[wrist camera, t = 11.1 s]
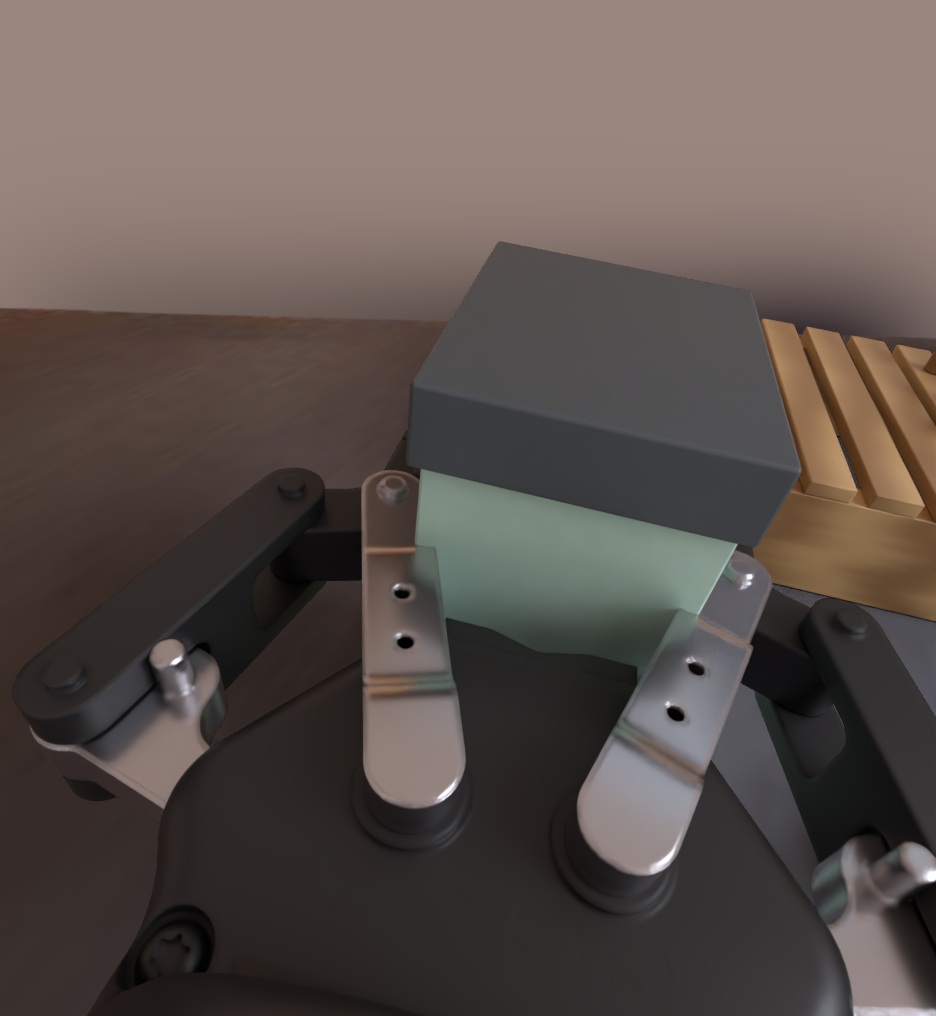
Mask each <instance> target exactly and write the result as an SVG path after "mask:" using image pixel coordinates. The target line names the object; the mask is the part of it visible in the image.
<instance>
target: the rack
mask: <svg viewBox="0 0 936 1016" xmlns="http://www.w3.org/2000/svg"><path fill="white" fill-rule="evenodd" d="M760 324H761V327H762V331H763V334H764V338H765V341H766V345H767V348H768V352H769V355H770V359H771V362H772V366H773V369H774V373H775V376H776V380H777V383H778V387H779V390H780V394H781V398H782V401H783V405H784V408H785V412H786V415H787V419H788V422H789V426H790V429H791V433H792V436H793V440H794V443H795V447H796V450H797V454H798V457H799V461H800V464H801V468H802V470H801V474H800V476H799V477H798V479H797V481H796V483H795V484H794V486H793V488H792V489H791V491H790V493H789V494H788V496H787V498H786V500H785V501H784V503H783V505H782V506H781V508H780V510H779V512H778V513H777V515H776V517H775V518H774V520H773V522H772V524H771V525H770V527H769V529H768V530H767V532H766V534H765V535H764V537H763V539H762V541H761V542H760V544H759V546H757V547H754V548H753V553H754V559H756V560H757V561H759V562H760V563H761V564H762V565H763V566H764V567H765V568H766V569H767V571H768V572H769V574H770V576H771V578H772V583H775V584H779V585H784V586H788V587H792V588H796V589H801V590H805V591H809V592H813V593H817V594H822V595H826V596H830V597H834V598H839V599H843V600H847V601H851V602H855V603H860V604H864V605H868V606H872V607H877V608H881V609H885V610H889V611H893V612H898V613H902V614H906V615H910V616H915V617H919V618H923V619H927V620H931V621H936V349H935V351H934V352H933V354H931V352H930V351H927V350H922V349H917V348H912V347H907V346H902V345H897V346H896V347H895V349H894V351H893V352H892V354H891V353H890V351H889V350H888V348H887V346H886V345H885V343H884V342H882V341H877V340H872V339H867V338H861V337H856V336H851V337H850V339H849V341H848V343H847V345H846V347H845V345H844V343H843V341H842V339H841V337H840V335H839V333H836V332H831V331H826V330H821V329H815V328H811V327H806V329H805V331H804V333H803V335H802V338H799V337H798V334H797V332H796V329H795V327H794V325H793V324H789V323H784V322H779V321H774V320H769V319H762V320H761V322H760ZM836 435H837V436H840V437H841V439H842V442H843V444H844V447H845V450H846V452H847V455H848V457H849V460H850V462H851V465H852V467H853V470H854V473H855V475H856V478H857V480H858V483H859V485H860V488H861V489H860V488H856V486H855V483H854V481H853V478H852V475H851V473H850V470H849V467H848V465H847V462H846V460H845V457H844V454H843V452H842V449H841V447H840V444H839V441H838V439H837V436H836ZM894 443H895V445H896V447H897V449H898V451H899V453H900V455H901V457H902V459H903V461H904V462H905V464H906V466H907V468H908V470H909V472H910V474H911V476H912V478H913V480H914V482H915V484H916V486H917V488H918V490H919V492H920V494H921V496H922V498H923V500H924V502H925V503H924V502H923V501H922V499H921V497H920V495H919V493H918V491H917V489H916V487H915V485H914V483H913V481H912V479H911V477H910V475H909V473H908V471H907V469H906V467H905V465H904V463H903V461H902V459H901V457H900V455H899V453H898V451H897V449H896V447H895V445H894Z"/></svg>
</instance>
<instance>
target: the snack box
mask: <svg viewBox="0 0 936 1016" xmlns="http://www.w3.org/2000/svg"><path fill="white" fill-rule="evenodd" d="M406 463H407V465H409V466H411V467H415V468H419V469H421V471H420V483H419V495H418V508H417V520H416V532H415V544H417V545H420V546H425V547H435V548H436V551H437V558H438V566H439V574H440V582H441V590H442V598H443V606H444V614H445V619H446V617H447V618H451V619H454V620H458V621H462V622H466V623H470V624H474V625H478V626H482V627H485V628H489V629H493V630H495V631H497V632H499V633H501V634H503V635H505V636H507V637H509V638H511V639H513V640H515V641H517V642H519V643H521V644H523V645H525V646H527V647H529V648H531V649H533V650H535V651H538V652H544V653H568V654H590V655H593V656H597V657H601V658H605V659H609V660H613V661H617V662H621V663H624V664H628V665H632V666H636V667H637V683H639V681H640V679H641V677H642V675H643V673H644V672H645V670H646V668H647V666H648V664H649V662H650V661H651V659H652V657H653V655H654V653H655V651H656V649H657V648H658V646H659V644H660V642H661V640H662V638H663V637H664V635H665V633H666V631H667V629H668V627H669V625H670V624H671V622H672V620H673V618H674V616H675V614H676V613H677V611H678V609H679V607H680V608H682V609H684V610H686V611H688V612H689V613H693V614H699V613H700V611H701V610H702V608H703V606H704V604H705V602H706V601H707V599H708V597H709V595H710V593H711V592H712V590H713V588H714V586H715V584H716V583H717V581H718V579H719V577H720V575H721V574H722V572H723V570H724V568H725V566H726V565H727V563H728V561H729V559H730V557H731V556H732V554H733V552H734V550H735V548H736V546H737V545H738V544H740V545H744V546H748V547H752V548H754V547H757V546H759V544H760V542H761V541H762V539H763V537H764V535H765V534H766V532H767V530H768V529H769V527H770V525H771V524H772V522H773V520H774V518H775V517H776V515H777V513H778V512H779V510H780V508H781V506H782V505H783V503H784V501H785V500H786V498H787V496H788V494H789V493H790V491H791V489H792V488H793V486H794V484H795V483H796V481H797V479H798V477H799V476H800V474H801V470H802V468H801V464H800V461H799V457H798V454H797V450H796V447H795V443H794V440H793V436H792V433H791V429H790V426H789V422H788V419H787V415H786V412H785V408H784V405H783V401H782V398H781V394H780V390H779V387H778V383H777V380H776V376H775V373H774V369H773V366H772V362H771V359H770V355H769V352H768V348H767V345H766V341H765V338H764V334H763V331H762V327H761V324H760V321H759V317H758V313H757V310H756V306H755V303H754V299H753V296H752V293H751V292H750V291H748V290H743V289H738V288H733V287H728V286H723V285H717V284H713V283H708V282H703V281H698V280H692V279H687V278H682V277H678V276H672V275H667V274H662V273H657V272H652V271H647V270H642V269H637V268H632V267H627V266H622V265H617V264H612V263H607V262H602V261H597V260H592V259H586V258H582V257H577V256H572V255H567V254H561V253H556V252H551V251H546V250H541V249H536V248H531V247H526V246H521V245H516V244H511V243H506V242H498V243H497V245H496V246H495V248H494V249H493V251H492V253H491V254H490V256H489V257H488V259H487V261H486V263H485V264H484V266H483V267H482V269H481V271H480V272H479V274H478V275H477V277H476V279H475V280H474V282H473V284H472V285H471V287H470V288H469V290H468V292H467V293H466V295H465V297H464V298H463V300H462V301H461V303H460V305H459V307H458V308H457V309H456V311H455V313H454V314H453V316H452V318H451V319H450V321H449V323H448V324H447V326H446V327H445V329H444V331H443V332H442V334H441V336H440V337H439V339H438V340H437V342H436V344H435V345H434V347H433V349H432V350H431V352H430V353H429V355H428V357H427V358H426V360H425V362H424V363H423V365H422V366H421V368H420V370H419V371H418V373H417V375H416V376H415V378H414V380H413V381H412V383H411V385H410V401H409V418H408V434H407V450H406Z"/></svg>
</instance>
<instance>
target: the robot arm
mask: <svg viewBox="0 0 936 1016" xmlns="http://www.w3.org/2000/svg"><path fill="white" fill-rule="evenodd" d="M407 434H408V430H406V432H405V434H404V436H403V438H402V440H401V441H400V443H399V444H398V446H397V448H396V450H395V452H394V453H393V455H392V457H391V459H390V461H389V462H388V464H387V466H386V468H385V470H384V471H381V472H377V473H375V474H372V475H371V476H369V477H368V478H367V479H366V480H365V481H364V482H363V485H362V487H359V488H354V489H325V486H324V482H323V480H322V479H321V478H320V476H318V475H317V474H316V473H314V472H312V471H309V470H306V469H302V468H285V469H280V470H277V471H274V472H272V473H270V474H269V475H267V476H266V477H264V478H263V479H262V480H260V481H259V482H258V483H257V484H255V485H254V486H253V487H251V488H250V489H249V490H248V491H246V492H245V493H244V494H242V495H241V496H240V497H239V498H237V499H236V500H235V501H233V502H232V503H231V504H230V505H228V506H227V507H226V508H225V509H223V510H222V511H221V512H219V513H218V514H217V515H216V516H214V517H213V518H212V519H210V520H209V521H208V522H207V523H205V524H204V525H203V526H201V527H200V528H199V529H198V530H196V531H195V532H194V533H192V534H191V535H190V536H189V537H187V538H186V539H185V540H183V541H182V542H181V543H180V544H178V545H177V546H176V547H175V548H173V549H172V550H171V551H169V552H168V553H167V554H166V555H164V556H163V557H162V558H160V559H159V560H158V561H157V562H155V563H154V564H153V565H151V566H150V567H149V568H148V569H146V570H145V571H144V572H142V573H141V574H140V575H139V576H137V577H136V578H135V579H133V580H132V581H131V582H130V583H128V584H127V585H126V586H124V587H123V588H122V589H121V590H119V591H118V592H117V593H116V594H114V595H113V596H112V597H110V598H109V599H108V600H107V601H105V602H104V603H103V604H101V605H100V606H99V607H98V608H96V609H95V610H94V611H92V612H91V613H90V614H89V615H87V616H86V617H85V618H83V619H82V620H81V621H80V622H78V623H77V624H76V625H74V626H73V627H72V628H71V629H69V630H68V631H67V632H65V633H64V634H63V635H62V636H60V637H59V638H58V639H57V640H55V641H54V642H53V643H51V644H50V645H49V646H48V647H46V648H45V649H44V650H42V651H41V652H40V653H39V654H37V655H36V656H35V657H33V658H32V659H31V660H30V661H29V662H28V663H27V664H26V665H25V666H24V667H23V668H22V669H21V671H20V672H19V674H18V675H17V678H16V680H15V682H14V686H13V698H14V701H15V703H16V705H17V707H18V708H19V710H20V711H21V713H22V714H23V716H24V717H25V719H26V720H27V722H28V723H29V725H30V729H31V733H32V734H33V736H34V738H35V740H36V741H37V743H38V744H39V746H40V747H41V749H42V750H43V752H44V753H45V755H46V756H47V758H48V759H49V761H50V762H51V764H52V765H53V767H54V768H55V770H56V771H57V772H58V773H59V774H61V775H62V776H63V777H64V778H65V780H66V782H67V783H68V785H69V786H70V788H71V789H72V791H73V792H74V793H75V794H76V795H78V796H79V797H81V798H83V799H86V800H90V801H103V800H109V799H112V798H115V797H118V798H119V799H121V800H122V801H124V802H125V803H127V804H128V805H130V806H131V807H133V808H134V809H136V810H137V811H139V812H140V813H142V814H143V815H145V816H146V817H148V818H149V819H151V820H152V821H154V822H155V823H157V824H158V825H160V827H159V835H158V857H157V870H156V876H155V882H154V887H153V891H152V895H151V899H150V902H149V905H148V908H147V912H146V915H145V917H144V920H143V923H142V925H141V927H140V930H139V932H138V934H137V936H136V938H135V940H134V942H133V943H132V945H131V947H130V948H129V950H128V952H127V953H126V955H125V957H124V958H123V960H122V961H121V963H120V964H119V966H118V967H117V969H116V970H115V972H114V973H113V975H112V977H111V978H110V980H109V981H108V983H107V984H106V986H105V987H104V989H103V990H102V992H101V994H100V995H99V997H98V998H97V1000H96V1002H95V1003H94V1005H93V1007H92V1008H91V1010H90V1012H89V1013H88V1015H87V1016H936V717H935V715H934V714H933V712H932V710H931V709H930V707H929V705H928V704H927V702H926V700H925V699H924V697H923V695H922V694H921V692H920V691H919V689H918V687H917V686H916V684H915V682H914V681H913V679H912V677H911V676H910V674H909V672H908V671H907V669H906V668H905V666H904V664H903V663H902V661H901V659H900V658H899V656H898V654H897V653H896V651H895V649H894V648H893V646H892V645H891V643H890V641H889V640H888V638H887V636H886V635H885V633H884V631H883V630H882V628H881V627H880V625H879V624H878V622H877V621H876V620H875V619H874V618H873V617H872V616H871V615H870V614H869V613H867V612H866V611H864V610H863V609H862V608H860V607H858V606H856V605H854V604H852V603H850V602H847V601H845V600H841V599H836V598H824V599H821V600H818V601H817V602H815V604H814V605H813V606H812V608H810V607H808V606H805V605H803V604H801V603H799V602H797V601H795V600H793V599H791V598H789V597H787V596H785V595H783V594H781V593H780V592H778V591H777V590H775V589H774V588H773V587H772V578H771V576H770V574H769V572H768V571H767V569H766V568H765V567H764V566H763V565H762V564H761V563H760V562H759V561H757V560H756V559H754V553H753V548H752V547H748V546H744V545H740V544H738V545H737V546H736V548H735V550H734V552H733V554H732V556H731V557H730V559H729V561H728V563H727V565H726V566H725V568H724V570H723V572H722V574H721V575H720V577H719V579H718V581H717V583H716V584H715V586H714V588H713V590H712V592H711V593H710V595H709V597H708V599H707V601H706V602H705V604H704V606H703V608H702V610H701V611H700V613H699V614H693V613H689V612H688V611H686V610H684V609H682V608H680V607H679V609H678V611H677V613H676V614H675V616H674V618H673V620H672V622H671V624H670V625H669V627H668V629H667V631H666V633H665V635H664V637H663V638H662V640H661V642H660V644H659V646H658V648H657V649H656V651H655V653H654V655H653V657H652V659H651V661H650V662H649V664H648V666H647V668H646V670H645V672H644V673H643V675H642V677H641V679H640V681H639V683H637V667H636V666H632V665H628V664H624V663H621V662H617V661H613V660H609V659H605V658H601V657H597V656H593V655H590V654H568V653H544V652H538V651H535V650H533V649H531V648H529V647H527V646H525V645H523V644H521V643H519V642H517V641H515V640H513V639H511V638H509V637H507V636H505V635H503V634H501V633H499V632H497V631H495V630H493V629H489V628H485V627H482V626H478V625H474V624H470V623H466V622H462V621H458V620H454V619H451V618H447V617H446V619H445V614H444V606H443V598H442V590H441V582H440V574H439V566H438V558H437V551H436V548H435V547H425V546H420V545H417V544H415V532H416V520H417V508H418V495H419V483H420V471H421V469H419V468H415V467H411V466H409V465H407V463H406V450H407ZM356 580H361V659H359V660H357V661H356V662H354V663H352V664H350V665H349V666H347V667H345V668H344V669H342V670H340V671H339V672H337V673H335V674H334V675H332V676H330V677H328V678H327V679H325V680H323V681H322V682H320V683H318V684H317V685H315V686H313V687H312V688H310V689H308V690H306V691H305V692H303V693H301V694H300V695H298V696H296V697H295V698H293V699H291V700H290V701H288V702H286V703H284V704H283V705H281V706H279V707H278V708H276V709H274V710H273V711H271V712H269V713H268V714H266V715H264V716H262V717H261V718H259V719H257V720H256V721H254V722H252V723H251V724H249V725H247V726H246V727H244V728H242V729H240V730H239V731H237V732H235V733H234V734H232V735H230V736H229V737H227V738H225V739H224V740H222V741H220V742H218V743H217V744H215V745H214V746H212V747H210V746H211V743H212V740H213V738H214V736H215V734H216V732H217V731H218V730H219V728H220V727H221V725H222V724H223V722H224V720H225V718H226V714H227V709H228V704H227V698H226V694H225V690H226V689H227V688H228V687H229V686H230V685H231V684H232V683H233V682H234V680H235V679H236V678H237V677H238V676H239V675H240V674H241V673H242V672H243V671H244V670H245V669H246V668H247V667H248V666H249V664H250V663H251V662H252V661H253V660H254V659H255V658H256V657H257V656H258V655H259V654H260V653H261V652H262V651H263V650H264V649H265V647H266V646H267V645H268V644H269V643H270V642H271V641H272V640H273V639H274V638H275V637H276V636H277V635H278V634H279V633H280V632H281V630H282V629H283V628H284V627H285V626H286V625H287V624H288V623H289V622H290V621H291V620H292V619H293V618H294V617H295V616H296V615H297V613H298V612H299V611H300V610H301V609H302V608H303V607H304V606H305V605H306V604H307V603H308V602H309V601H310V600H311V599H312V598H313V596H314V595H315V594H316V593H317V592H318V591H319V590H320V589H321V588H322V587H323V586H324V584H325V583H326V581H356ZM740 683H742V684H743V685H745V686H747V687H749V688H751V689H753V690H754V691H755V697H756V700H757V703H758V705H759V708H760V711H761V713H762V716H763V718H764V721H765V724H766V726H767V729H768V731H769V734H770V737H771V739H772V742H773V744H774V747H775V750H776V752H777V755H778V757H779V760H780V762H781V765H782V768H783V770H784V773H785V775H786V778H787V781H788V783H789V786H790V788H791V791H792V794H793V796H794V799H795V801H796V804H797V807H798V809H799V812H800V814H801V817H802V820H803V822H804V825H805V827H806V830H807V833H808V835H809V838H810V840H811V843H812V846H813V848H814V851H815V853H816V856H817V859H818V861H819V865H818V866H817V867H816V868H815V870H814V872H813V875H812V879H811V891H812V896H813V900H814V904H815V906H813V904H812V903H811V901H810V900H809V899H808V897H807V896H806V894H805V893H804V891H803V890H802V889H801V887H800V886H799V884H798V883H797V882H796V880H795V879H794V877H793V876H792V874H791V873H790V872H789V870H788V869H787V867H786V866H785V864H784V863H783V862H782V860H781V859H780V857H779V856H778V854H777V853H776V852H775V850H774V849H773V847H772V846H771V844H770V843H769V842H768V840H767V839H766V837H765V836H764V835H763V833H762V832H761V830H760V829H759V827H758V826H757V825H756V823H755V822H754V820H753V819H752V817H751V816H750V815H749V813H748V812H747V810H746V809H745V807H744V806H743V805H742V803H741V802H740V800H739V799H738V798H737V796H736V795H735V793H734V792H733V790H732V789H731V788H730V786H729V785H728V783H727V782H726V780H725V779H724V778H723V776H722V775H721V773H720V772H719V770H718V769H717V768H716V766H715V765H714V763H713V762H712V761H711V757H712V754H713V752H714V749H715V747H716V744H717V742H718V739H719V736H720V734H721V731H722V729H723V726H724V723H725V721H726V718H727V716H728V713H729V711H730V708H731V705H732V703H733V700H734V698H735V695H736V692H737V690H738V687H739V685H740ZM833 703H834V705H835V707H836V709H837V711H838V714H839V716H840V718H841V720H842V722H843V724H844V727H845V729H844V727H843V725H842V722H841V720H840V718H839V716H838V714H837V712H836V710H835V708H834V706H833Z"/></svg>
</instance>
